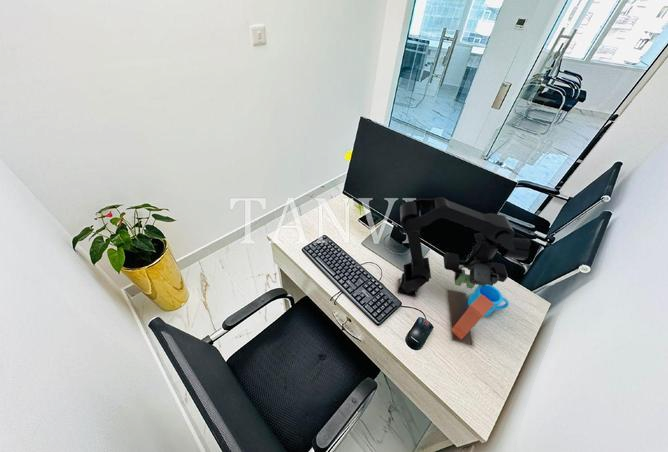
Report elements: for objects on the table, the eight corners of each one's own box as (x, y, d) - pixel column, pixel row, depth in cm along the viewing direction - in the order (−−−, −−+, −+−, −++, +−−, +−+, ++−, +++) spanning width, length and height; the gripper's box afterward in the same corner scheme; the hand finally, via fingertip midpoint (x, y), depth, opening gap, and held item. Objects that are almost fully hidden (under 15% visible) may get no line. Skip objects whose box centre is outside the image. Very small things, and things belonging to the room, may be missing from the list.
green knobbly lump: (472, 288, 88) (478, 280, 85) (454, 284, 89) (460, 276, 86) (470, 280, 91) (476, 272, 87) (454, 277, 91) (459, 268, 88)
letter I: (450, 330, 84) (470, 305, 74) (461, 319, 88) (481, 294, 77) (461, 340, 82) (483, 315, 71) (471, 328, 85) (494, 303, 74)
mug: (469, 313, 90) (479, 300, 85) (466, 293, 96) (475, 281, 91) (505, 321, 89) (517, 309, 83) (499, 301, 95) (511, 289, 89)
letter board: (452, 339, 83) (453, 338, 82) (447, 290, 97) (448, 289, 96) (471, 345, 82) (472, 344, 81) (464, 294, 96) (465, 293, 96)
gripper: (455, 264, 74) (437, 294, 85) (524, 279, 71) (497, 308, 82) (452, 238, 82) (436, 268, 93) (513, 251, 79) (490, 280, 90)
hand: (464, 281), depth 89 cm, fingers closed on green knobbly lump, 6 cm apart
